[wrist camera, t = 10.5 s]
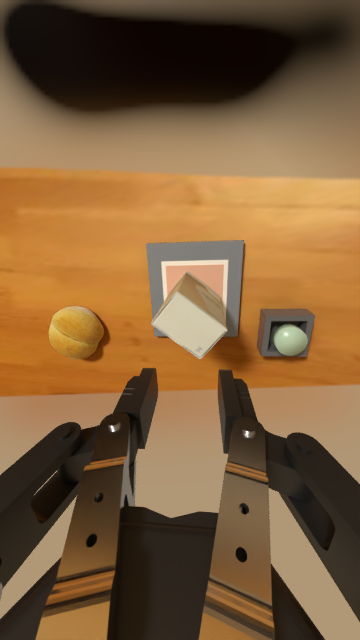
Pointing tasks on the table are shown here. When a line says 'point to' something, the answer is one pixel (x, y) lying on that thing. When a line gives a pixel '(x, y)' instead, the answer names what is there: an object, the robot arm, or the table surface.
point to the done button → (289, 339)
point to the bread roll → (75, 332)
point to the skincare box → (192, 316)
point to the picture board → (198, 273)
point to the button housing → (276, 318)
